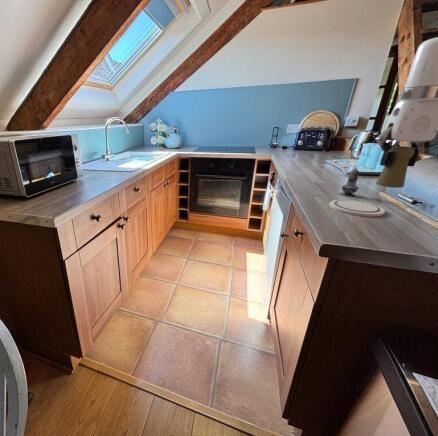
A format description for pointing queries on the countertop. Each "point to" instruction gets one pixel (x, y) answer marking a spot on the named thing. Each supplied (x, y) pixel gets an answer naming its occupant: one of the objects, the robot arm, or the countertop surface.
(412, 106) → the robot arm
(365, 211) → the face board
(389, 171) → the cork
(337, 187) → the countertop surface
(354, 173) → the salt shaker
